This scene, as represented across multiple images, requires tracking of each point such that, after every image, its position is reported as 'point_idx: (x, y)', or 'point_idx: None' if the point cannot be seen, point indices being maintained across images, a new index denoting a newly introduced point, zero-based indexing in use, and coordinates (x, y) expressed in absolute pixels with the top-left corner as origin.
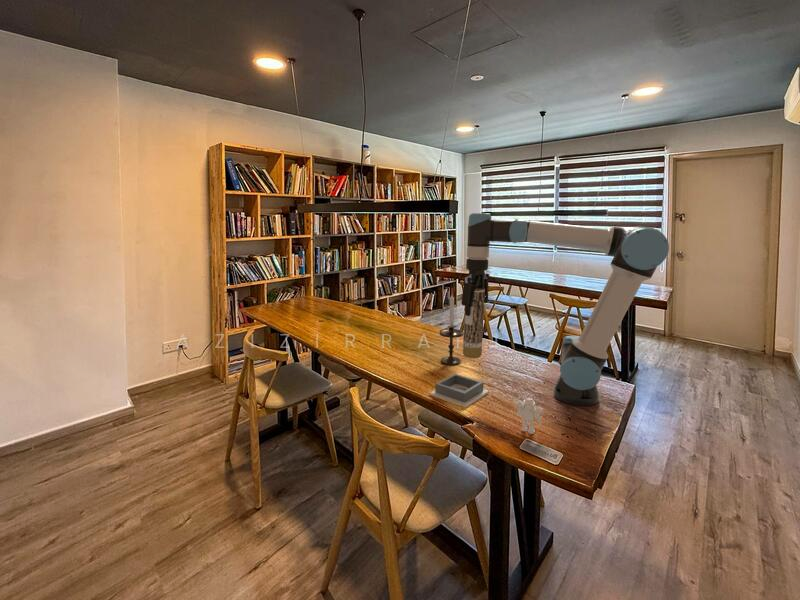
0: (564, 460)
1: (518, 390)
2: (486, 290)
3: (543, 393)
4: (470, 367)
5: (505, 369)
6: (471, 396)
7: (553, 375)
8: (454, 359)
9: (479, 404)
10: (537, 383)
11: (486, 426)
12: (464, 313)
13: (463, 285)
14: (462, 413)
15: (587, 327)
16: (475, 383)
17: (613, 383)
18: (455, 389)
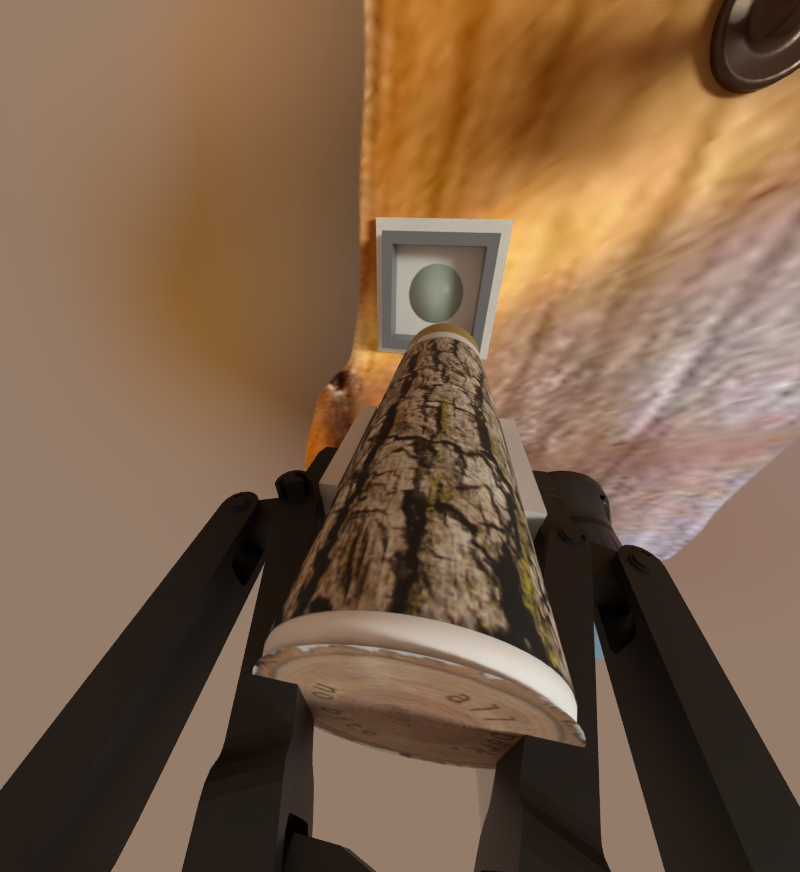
0: None
1: (539, 409)
2: (625, 727)
3: (547, 455)
4: (701, 182)
5: (710, 321)
6: None
7: (687, 450)
8: (791, 29)
9: None
10: (607, 432)
11: (346, 413)
12: (384, 410)
13: (3, 789)
14: (354, 355)
15: None
16: (473, 330)
17: (667, 545)
18: (387, 313)
